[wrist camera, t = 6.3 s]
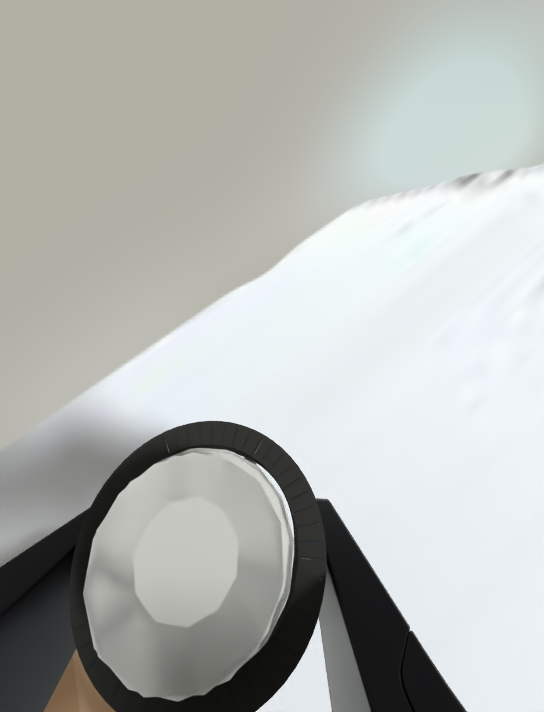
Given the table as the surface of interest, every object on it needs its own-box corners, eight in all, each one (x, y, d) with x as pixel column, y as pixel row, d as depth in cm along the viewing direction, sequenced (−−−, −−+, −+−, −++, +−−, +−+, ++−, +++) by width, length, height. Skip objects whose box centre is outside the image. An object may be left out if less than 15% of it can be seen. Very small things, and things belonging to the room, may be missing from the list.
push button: (322, 592, 12) (441, 850, 4) (207, 637, 12) (-7, 1089, 3) (278, 446, 15) (282, 382, 6) (184, 476, 15) (40, 452, 6)
